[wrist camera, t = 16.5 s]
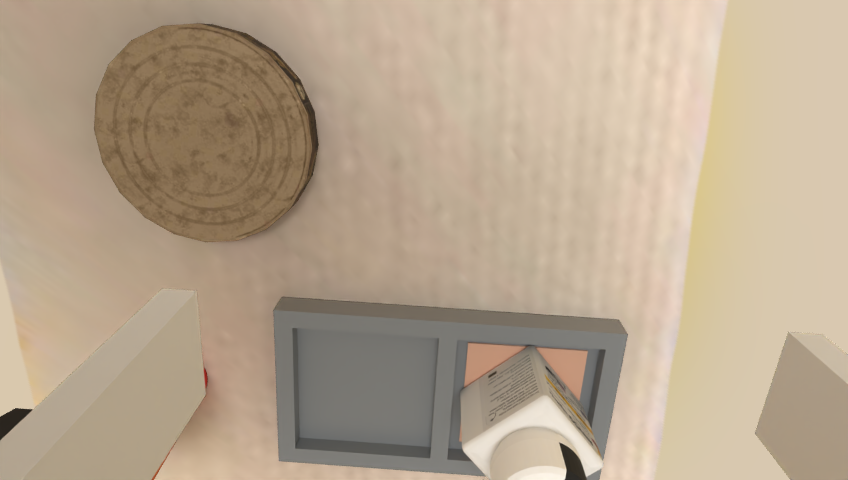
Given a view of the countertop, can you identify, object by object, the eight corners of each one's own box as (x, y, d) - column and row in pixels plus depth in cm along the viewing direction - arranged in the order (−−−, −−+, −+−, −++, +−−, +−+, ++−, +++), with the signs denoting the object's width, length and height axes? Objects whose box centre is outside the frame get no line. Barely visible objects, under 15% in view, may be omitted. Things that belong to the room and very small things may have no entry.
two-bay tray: (286, 442, 53) (278, 461, 51) (281, 296, 48) (273, 310, 46) (591, 464, 53) (598, 484, 50) (618, 319, 48) (627, 334, 45)
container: (583, 404, 49) (628, 525, 37) (510, 448, 51) (530, 577, 39) (532, 342, 47) (561, 447, 35) (458, 389, 49) (461, 505, 37)
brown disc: (201, 263, 48) (185, 277, 45) (74, 96, 44) (48, 100, 41) (358, 169, 45) (352, 178, 42) (237, -21, 40) (221, -25, 38)
